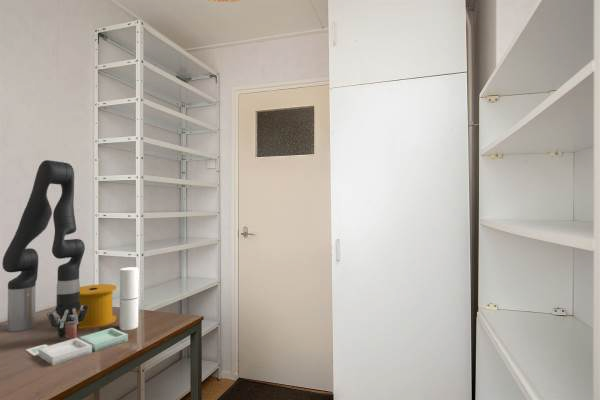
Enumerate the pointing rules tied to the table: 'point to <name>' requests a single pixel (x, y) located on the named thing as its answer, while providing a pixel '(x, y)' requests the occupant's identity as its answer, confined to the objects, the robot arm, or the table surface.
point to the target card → (35, 350)
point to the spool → (96, 306)
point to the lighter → (69, 329)
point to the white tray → (65, 351)
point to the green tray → (105, 338)
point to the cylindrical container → (129, 298)
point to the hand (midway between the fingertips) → (67, 335)
